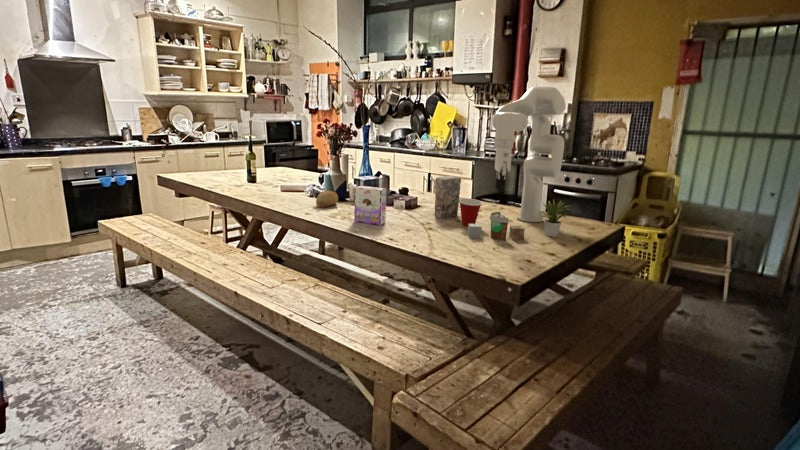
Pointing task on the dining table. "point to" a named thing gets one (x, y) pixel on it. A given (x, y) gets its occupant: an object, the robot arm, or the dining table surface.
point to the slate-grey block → (474, 230)
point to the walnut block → (516, 232)
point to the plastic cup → (469, 210)
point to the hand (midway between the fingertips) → (499, 188)
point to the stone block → (447, 196)
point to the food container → (498, 226)
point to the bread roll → (326, 199)
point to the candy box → (370, 205)
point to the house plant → (553, 218)
